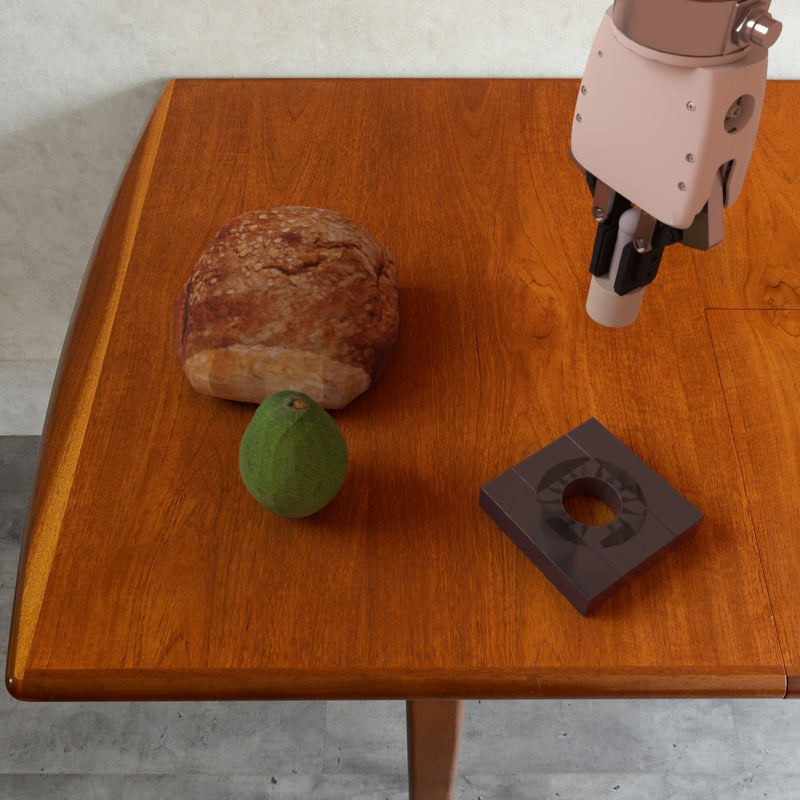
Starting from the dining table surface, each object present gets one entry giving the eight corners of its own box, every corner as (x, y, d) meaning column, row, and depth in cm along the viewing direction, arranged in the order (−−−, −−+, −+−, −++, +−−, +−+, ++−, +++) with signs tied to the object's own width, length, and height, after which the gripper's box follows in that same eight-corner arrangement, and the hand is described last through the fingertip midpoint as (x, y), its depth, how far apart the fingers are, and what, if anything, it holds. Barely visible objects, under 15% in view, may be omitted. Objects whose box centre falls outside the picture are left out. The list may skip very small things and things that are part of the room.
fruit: (293, 441, 75) (279, 340, 66) (369, 486, 72) (365, 387, 63) (228, 506, 71) (202, 408, 61) (305, 557, 68) (291, 462, 58)
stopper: (612, 285, 64) (636, 187, 57) (649, 314, 62) (678, 215, 55) (574, 305, 62) (595, 206, 56) (611, 335, 60) (636, 237, 54)
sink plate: (588, 435, 75) (593, 416, 73) (697, 533, 69) (705, 515, 67) (477, 505, 71) (480, 486, 69) (583, 617, 64) (589, 600, 62)
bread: (404, 283, 88) (404, 199, 80) (391, 427, 76) (390, 344, 68) (198, 274, 89) (179, 190, 81) (153, 415, 77) (126, 332, 69)
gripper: (865, 46, 43) (750, 321, 57) (632, -66, 51) (581, 198, 65) (761, 93, 40) (667, 371, 54) (532, -33, 48) (502, 235, 62)
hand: (620, 275), depth 60 cm, fingers closed on stopper, 1 cm apart
